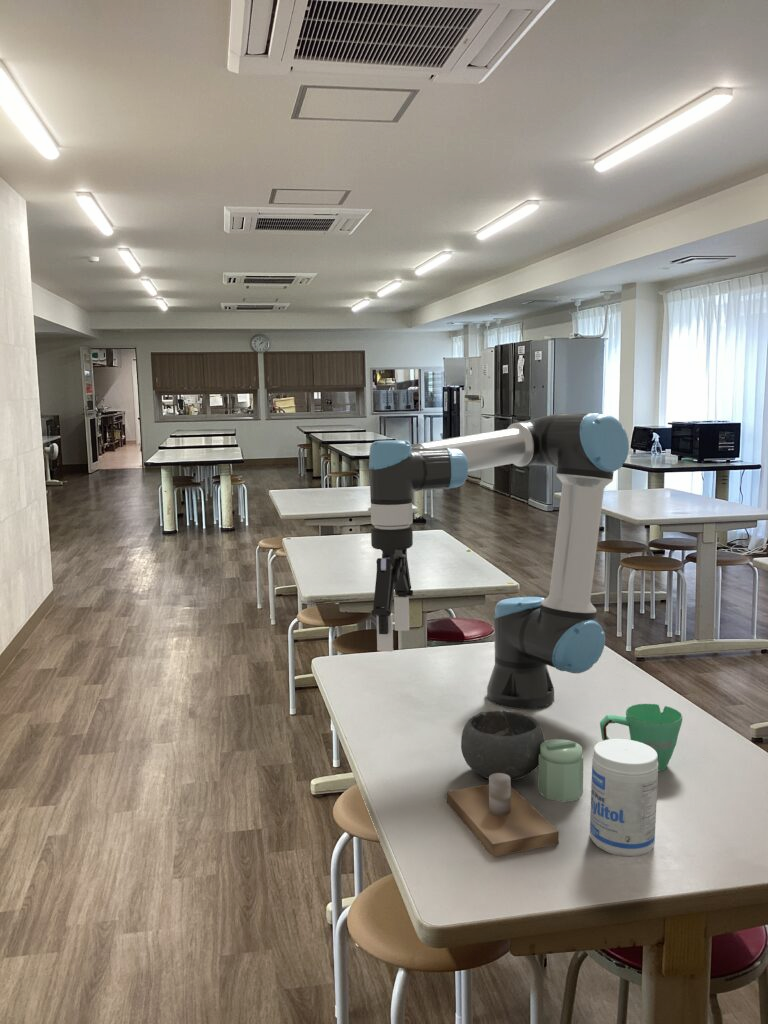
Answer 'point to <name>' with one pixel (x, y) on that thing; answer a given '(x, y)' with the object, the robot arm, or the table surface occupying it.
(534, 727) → the bowl
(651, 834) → the supplement tub
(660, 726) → the mug
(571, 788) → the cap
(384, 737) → the table surface
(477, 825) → the stud block
